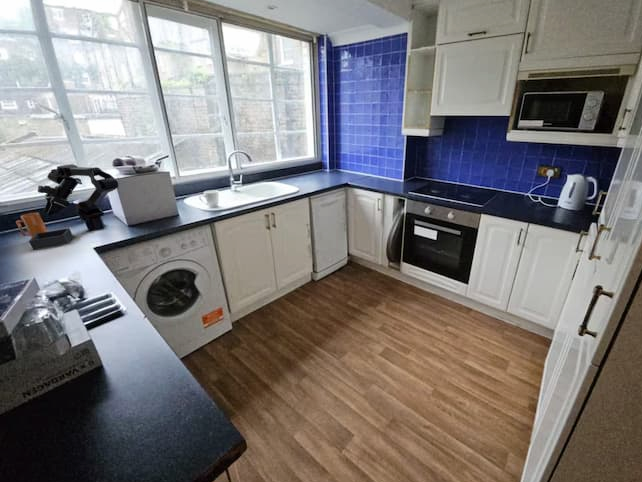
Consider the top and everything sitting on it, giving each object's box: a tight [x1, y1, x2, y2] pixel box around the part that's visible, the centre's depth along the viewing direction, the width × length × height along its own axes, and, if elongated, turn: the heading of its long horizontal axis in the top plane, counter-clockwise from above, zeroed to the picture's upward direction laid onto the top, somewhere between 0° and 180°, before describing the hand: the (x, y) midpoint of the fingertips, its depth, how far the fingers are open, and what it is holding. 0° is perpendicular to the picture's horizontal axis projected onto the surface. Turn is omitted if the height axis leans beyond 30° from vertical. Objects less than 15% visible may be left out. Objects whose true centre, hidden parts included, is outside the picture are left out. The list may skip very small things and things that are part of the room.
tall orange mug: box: [15, 212, 49, 239], centre depth 146 cm, size 9×6×13 cm
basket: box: [28, 227, 74, 251], centre depth 144 cm, size 12×11×5 cm
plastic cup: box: [73, 197, 96, 216], centre depth 174 cm, size 11×11×12 cm
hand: (46, 213), depth 149 cm, fingers open, 9 cm apart
